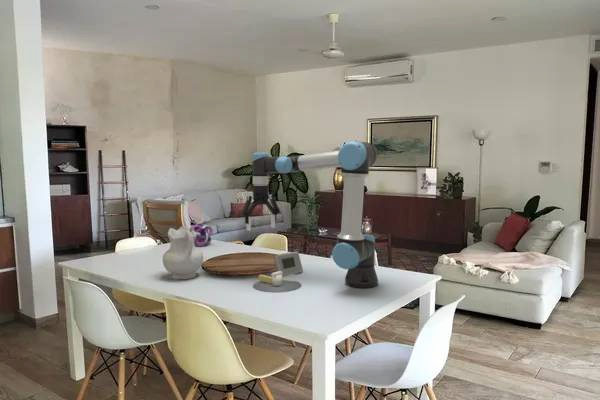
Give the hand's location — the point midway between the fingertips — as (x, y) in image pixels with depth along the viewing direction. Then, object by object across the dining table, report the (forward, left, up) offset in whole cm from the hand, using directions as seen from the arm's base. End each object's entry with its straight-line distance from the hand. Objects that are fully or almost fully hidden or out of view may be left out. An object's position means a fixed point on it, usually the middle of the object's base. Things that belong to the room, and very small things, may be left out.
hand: (261, 229), depth 222 cm
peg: (-13, +7, -23) cm, 27 cm away
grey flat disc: (-17, +7, -24) cm, 30 cm away
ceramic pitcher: (+30, +23, -24) cm, 45 cm away
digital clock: (-6, -13, -24) cm, 28 cm away
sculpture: (+91, -33, -24) cm, 100 cm away
